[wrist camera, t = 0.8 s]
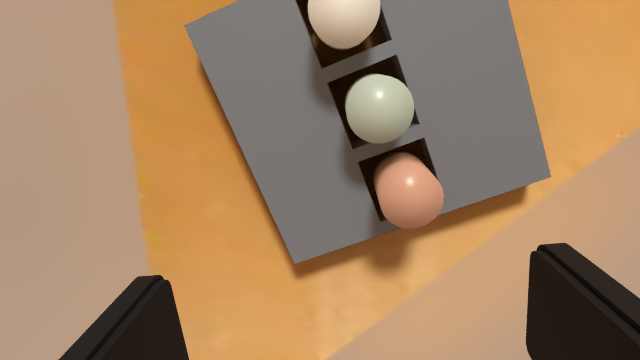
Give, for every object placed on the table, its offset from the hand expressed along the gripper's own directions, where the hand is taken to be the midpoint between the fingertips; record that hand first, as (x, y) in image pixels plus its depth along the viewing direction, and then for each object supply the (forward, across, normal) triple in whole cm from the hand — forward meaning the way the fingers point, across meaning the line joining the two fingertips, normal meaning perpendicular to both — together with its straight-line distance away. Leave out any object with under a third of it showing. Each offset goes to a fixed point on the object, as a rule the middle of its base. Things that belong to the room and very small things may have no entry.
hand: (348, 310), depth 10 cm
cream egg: (+19, -1, -9) cm, 21 cm away
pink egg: (+19, -4, +2) cm, 20 cm away
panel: (+21, -3, -3) cm, 22 cm away
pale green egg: (+19, -3, -3) cm, 20 cm away
